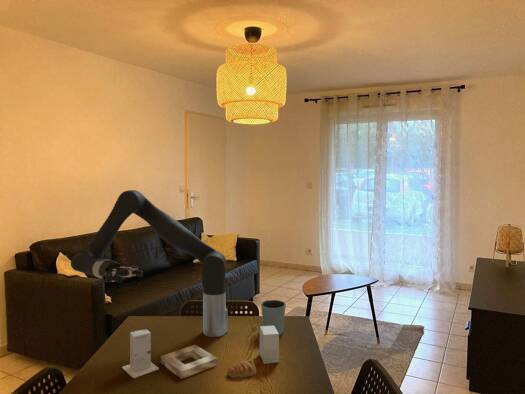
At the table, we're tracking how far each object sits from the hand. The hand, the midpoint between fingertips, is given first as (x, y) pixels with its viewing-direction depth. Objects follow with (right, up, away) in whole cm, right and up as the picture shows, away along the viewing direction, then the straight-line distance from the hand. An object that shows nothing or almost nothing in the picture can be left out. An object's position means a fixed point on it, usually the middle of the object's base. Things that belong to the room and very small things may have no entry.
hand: (132, 276), depth 145 cm
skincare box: (+5, -30, -6) cm, 31 cm away
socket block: (+21, -30, -3) cm, 36 cm away
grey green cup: (+51, -28, +25) cm, 63 cm away
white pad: (+5, -30, -7) cm, 31 cm away
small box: (+49, -30, +1) cm, 57 cm away
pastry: (+40, -31, -9) cm, 51 cm away
